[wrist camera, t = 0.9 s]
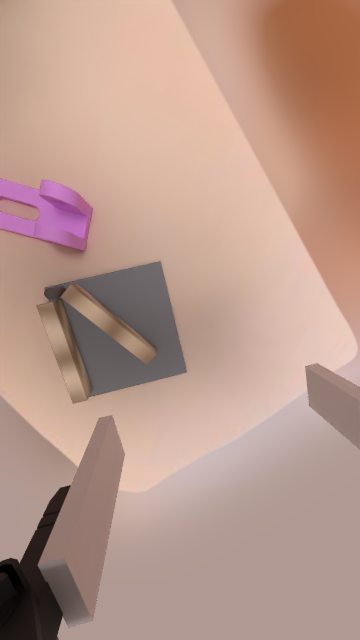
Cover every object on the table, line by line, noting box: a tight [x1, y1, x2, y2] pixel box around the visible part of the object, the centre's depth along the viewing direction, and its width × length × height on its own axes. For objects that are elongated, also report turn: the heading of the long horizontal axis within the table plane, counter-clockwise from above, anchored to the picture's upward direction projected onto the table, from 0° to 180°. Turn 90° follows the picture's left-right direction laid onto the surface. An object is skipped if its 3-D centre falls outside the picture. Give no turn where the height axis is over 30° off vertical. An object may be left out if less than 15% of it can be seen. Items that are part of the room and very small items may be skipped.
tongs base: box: [37, 287, 93, 403], centre depth 30 cm, size 16×3×3 cm, turn 13°
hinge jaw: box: [61, 284, 157, 365], centre depth 30 cm, size 14×2×2 cm, turn 48°
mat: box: [45, 262, 187, 397], centre depth 32 cm, size 17×16×1 cm
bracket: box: [0, 179, 93, 251], centre depth 25 cm, size 13×6×7 cm, turn 76°
